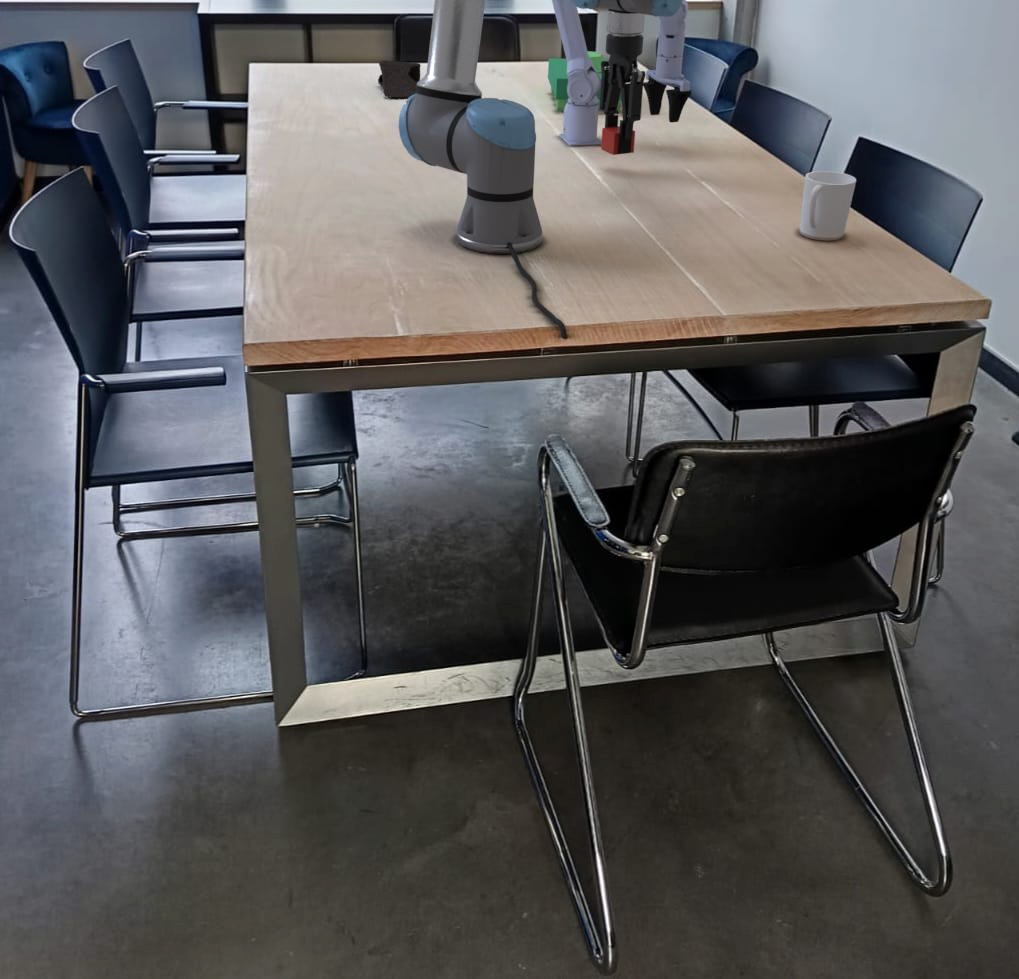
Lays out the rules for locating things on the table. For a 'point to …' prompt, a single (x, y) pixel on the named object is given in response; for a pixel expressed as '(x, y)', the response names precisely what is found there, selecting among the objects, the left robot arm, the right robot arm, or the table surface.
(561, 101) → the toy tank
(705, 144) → the table surface
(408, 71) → the axe head
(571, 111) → the right robot arm
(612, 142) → the block
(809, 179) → the mug
